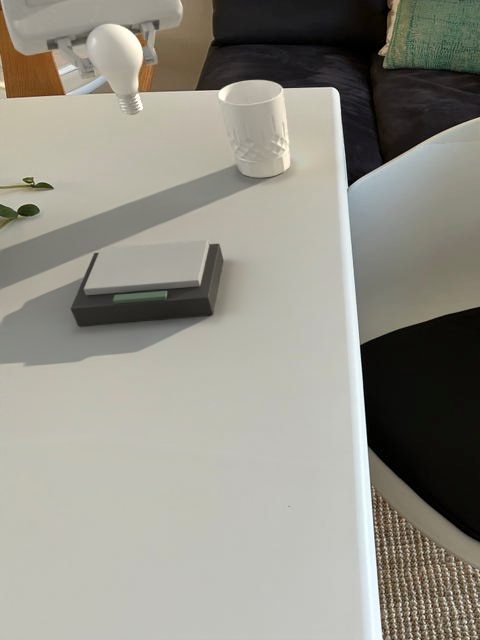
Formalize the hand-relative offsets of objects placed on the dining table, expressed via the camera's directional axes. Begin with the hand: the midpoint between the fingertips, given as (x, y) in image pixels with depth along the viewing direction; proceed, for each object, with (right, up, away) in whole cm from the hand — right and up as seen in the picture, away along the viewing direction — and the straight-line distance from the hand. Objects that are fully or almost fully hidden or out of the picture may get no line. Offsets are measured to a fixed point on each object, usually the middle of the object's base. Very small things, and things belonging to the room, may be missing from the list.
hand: (120, 69), depth 96 cm
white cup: (+16, -10, +7) cm, 20 cm away
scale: (+10, -29, -15) cm, 34 cm away
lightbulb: (0, -4, +4) cm, 6 cm away
